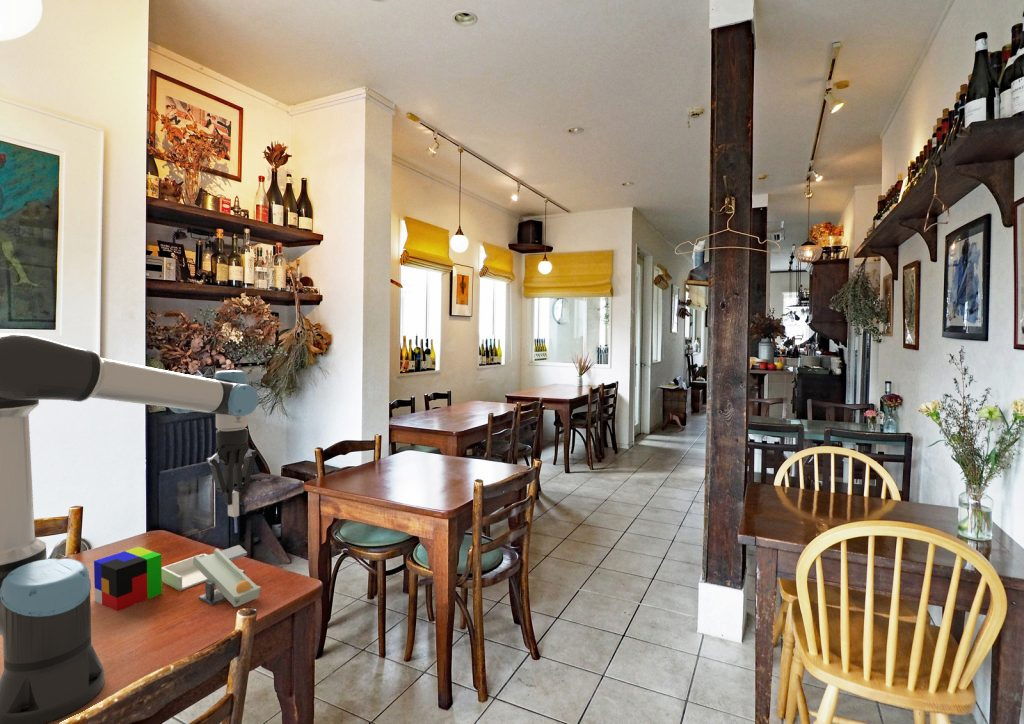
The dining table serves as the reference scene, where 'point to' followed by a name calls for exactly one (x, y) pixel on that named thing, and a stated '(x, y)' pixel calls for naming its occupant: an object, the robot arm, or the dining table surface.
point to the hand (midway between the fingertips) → (233, 515)
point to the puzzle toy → (127, 578)
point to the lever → (227, 574)
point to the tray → (183, 574)
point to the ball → (243, 586)
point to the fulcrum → (213, 594)
